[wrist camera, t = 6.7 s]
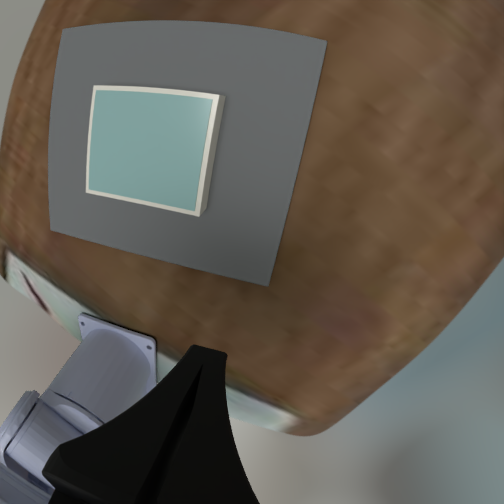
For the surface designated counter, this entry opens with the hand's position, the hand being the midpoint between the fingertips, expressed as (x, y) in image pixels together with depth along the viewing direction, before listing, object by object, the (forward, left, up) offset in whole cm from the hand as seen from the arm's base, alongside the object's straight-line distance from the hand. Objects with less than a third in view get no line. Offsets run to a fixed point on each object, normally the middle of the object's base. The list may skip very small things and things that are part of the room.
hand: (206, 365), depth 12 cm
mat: (+6, +7, -10) cm, 14 cm away
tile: (+6, +3, -9) cm, 11 cm away
